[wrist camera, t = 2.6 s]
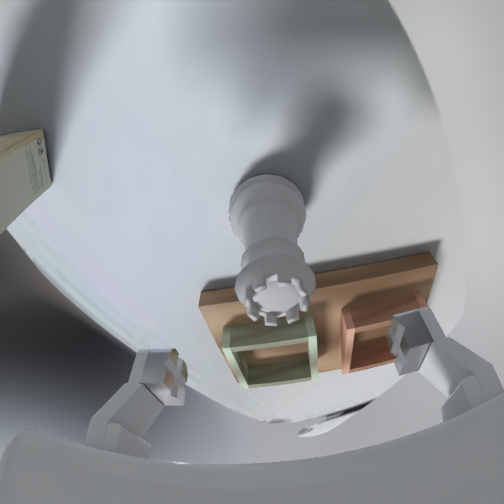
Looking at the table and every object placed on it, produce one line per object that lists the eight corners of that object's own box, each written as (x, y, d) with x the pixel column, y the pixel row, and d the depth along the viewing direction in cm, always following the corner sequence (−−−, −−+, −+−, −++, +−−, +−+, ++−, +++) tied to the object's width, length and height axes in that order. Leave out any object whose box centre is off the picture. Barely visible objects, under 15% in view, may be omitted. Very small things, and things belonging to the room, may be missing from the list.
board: (201, 291, 21) (194, 328, 18) (429, 251, 19) (449, 281, 16) (238, 371, 28) (237, 400, 25) (404, 340, 26) (414, 367, 23)
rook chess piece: (215, 189, 16) (194, 284, 10) (287, 158, 15) (316, 238, 9) (248, 246, 19) (249, 349, 12) (313, 221, 18) (346, 320, 11)
